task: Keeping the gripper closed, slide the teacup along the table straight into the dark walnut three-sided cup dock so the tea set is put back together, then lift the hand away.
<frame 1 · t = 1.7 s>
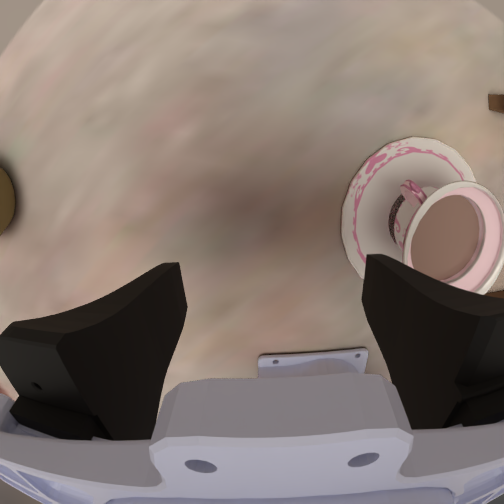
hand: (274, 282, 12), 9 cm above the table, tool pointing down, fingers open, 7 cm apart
teacup: (415, 218, 20), on the table
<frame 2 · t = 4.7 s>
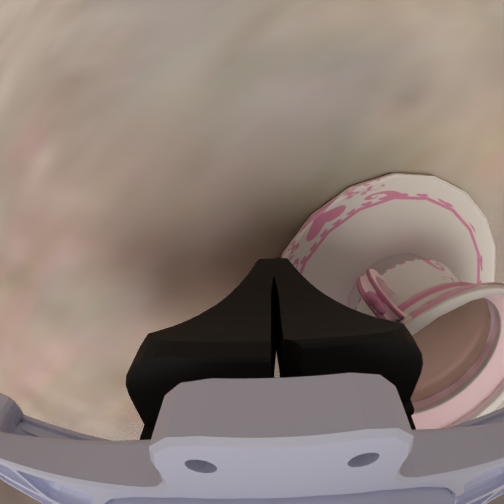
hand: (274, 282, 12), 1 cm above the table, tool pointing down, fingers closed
teacup: (392, 296, 14), on the table, touching gripper
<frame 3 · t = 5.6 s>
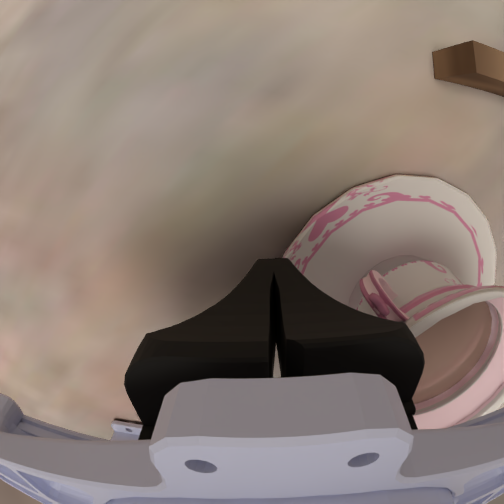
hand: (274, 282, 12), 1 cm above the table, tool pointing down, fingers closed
teacup: (393, 298, 14), on the table, touching gripper
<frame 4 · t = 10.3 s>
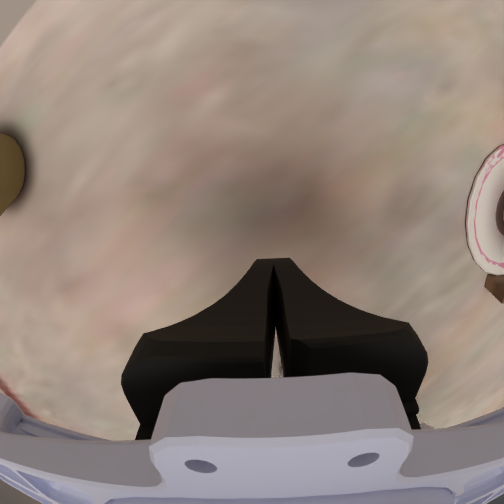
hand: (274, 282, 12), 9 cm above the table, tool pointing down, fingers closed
squeeze bottle: (6, 167, 19), on the table
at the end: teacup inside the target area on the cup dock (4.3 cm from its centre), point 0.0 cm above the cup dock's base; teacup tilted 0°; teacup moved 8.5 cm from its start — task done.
